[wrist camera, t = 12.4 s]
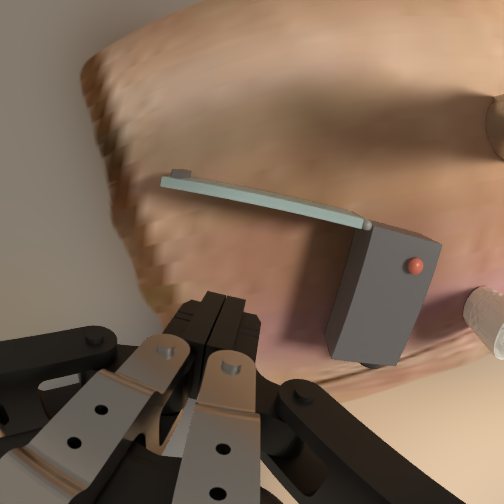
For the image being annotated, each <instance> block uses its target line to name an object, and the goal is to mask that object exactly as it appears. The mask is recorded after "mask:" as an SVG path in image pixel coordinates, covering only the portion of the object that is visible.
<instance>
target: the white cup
mask: <svg viewBox="0 0 504 504" xmlns="http://www.w3.org/2000/svg"><path fill="white" fill-rule="evenodd" d="M463 317H464V320H465V322H466V324H467V325H468V326H469V327H470V328H471V329H472V330H473V332H474V333H475V334H476V335H477V336H478V337H479V339H480V340H481V341H482V342H483V343H484V344H485V346H486V347H487V348H488V349H489V350H490V351H491V352H492V354H493V355H494V356H495V357H496V358H497V359H499V360H504V294H502V293H500V292H496V291H495V290H493V289H491V288H489V287H488V286H481V287H479V288H477V289H476V290H474V291H473V292H472V293H471V295H470V296H469V297H468V298H467V301H466V303H465V306H464V310H463Z"/></svg>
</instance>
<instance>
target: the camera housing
mask: <svg viewBox="0 0 504 504" xmlns="http://www.w3.org/2000/svg"><path fill="white" fill-rule="evenodd" d="M369 221H370V222H371V223H372V227H371V229H370V230H364V229H363V228H362V229H359V228H356V229H355V233H354V237H353V240H352V244H351V248H350V252H349V255H348V259H347V262H346V266H345V269H344V273H343V276H342V280H341V283H340V286H339V290H338V293H337V296H336V299H335V303H334V306H333V309H332V312H331V315H330V318H329V321H328V324H327V327H326V330H325V333H324V335H325V338H326V342H327V346H328V349H329V353H330V356H331V359H335V360H343V361H351V362H359V363H360V364H361V365H363V366H365V367H367V368H371V369H378V368H381V367H382V365H390V366H396V365H397V363H398V360H399V358H400V356H401V354H402V352H403V350H404V348H405V345H406V343H407V341H408V339H409V336H410V334H411V332H412V329H413V327H414V325H415V322H416V320H417V317H418V315H419V312H420V310H421V307H422V305H423V302H424V299H425V297H426V294H427V291H428V288H429V285H430V283H431V280H432V277H433V274H434V271H435V268H436V264H437V261H438V258H439V255H440V251H441V248H442V244H440V243H438V242H436V241H434V240H432V239H430V238H428V237H426V236H424V235H422V234H419V233H416V232H412V231H409V230H405V229H401V228H398V227H394V226H390V225H387V224H383V223H379V222H375V221H371V220H369Z"/></svg>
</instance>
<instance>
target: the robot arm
mask: <svg viewBox="0 0 504 504" xmlns="http://www.w3.org/2000/svg"><path fill="white" fill-rule="evenodd" d="M485 123H486V132H487V136H488V139H489V142H490V144H491V146H492V148H493V150H494V151H495V153H496V154H497V155H498V156H499V157H500V158H501V159H502V160H504V94H503V95H499V96H495V97H494V99H493V103H492V104H491V106H490V107H489V108H488V110H487V114H486V121H485ZM245 302H246V300H244V299H240V298H236V297H231V296H227V298H226V295H222V294H218V293H214V292H210V291H207V293H206V295H205V296H204V298H203V300H202V301H201V302H199V301H195V300H190V301H188V302H186V303H184V304H182V306H181V307H180V308H179V310H178V312H177V313H176V314H175V316H174V318H172V320H171V321H170V323H169V324H168V326H167V327H166V329H165V330H164V331H163V333H162V334H155V335H152V336H150V337H148V338H147V339H146V340H145V341H144V342H143V343H142V344H141V345H140V346H129V345H120V344H117V337H116V335H115V334H114V332H112V331H111V330H109V329H107V328H105V327H101V326H86V327H80V328H75V329H70V330H65V331H59V332H54V333H48V334H42V335H36V336H30V337H24V338H19V339H12V340H6V341H0V504H283V503H282V502H281V501H280V500H279V499H278V498H277V497H275V496H274V495H273V494H271V493H270V492H269V491H267V490H266V489H264V488H262V487H261V486H260V459H261V460H262V461H263V463H264V464H265V465H266V466H267V468H268V469H269V470H270V471H271V472H272V474H273V475H274V476H275V477H276V478H277V480H278V481H279V482H280V483H281V484H282V485H283V486H284V488H285V489H286V490H287V491H288V492H289V493H290V494H291V495H292V497H293V498H294V499H295V500H296V501H297V502H298V503H299V504H466V503H464V502H463V501H462V500H460V499H459V498H457V497H456V496H455V495H453V494H452V493H450V492H449V491H448V490H446V489H445V488H444V487H442V486H441V485H440V484H438V483H437V482H435V481H434V480H433V479H431V478H430V477H429V476H428V475H426V474H425V473H424V472H422V471H421V470H420V469H418V468H417V467H416V466H414V465H413V464H412V463H410V462H409V461H408V460H407V459H406V458H404V457H403V456H402V455H401V454H399V453H398V452H397V451H395V450H394V449H393V448H392V447H391V446H389V445H388V444H387V443H386V442H384V441H383V440H382V439H381V438H380V437H378V436H377V435H376V434H375V433H373V432H372V431H371V430H370V429H369V428H367V427H366V426H365V425H364V424H363V423H362V422H360V421H359V420H358V419H357V418H356V417H354V416H353V415H352V414H351V413H349V412H348V411H347V410H346V409H345V408H344V407H343V406H342V405H340V404H339V403H338V402H337V401H336V400H335V399H334V398H332V397H331V396H330V395H329V394H328V393H327V392H326V391H325V390H323V389H322V388H321V387H320V386H318V385H317V384H315V383H313V382H310V381H307V380H303V379H292V380H288V381H286V382H284V383H283V384H282V385H281V386H280V385H278V384H275V383H273V382H271V381H269V380H267V379H265V378H264V377H263V376H262V375H261V374H260V373H259V372H258V371H257V369H256V365H255V360H256V354H257V347H258V340H259V333H260V326H261V322H260V320H259V318H258V317H257V315H254V314H250V313H245V312H243V311H244V307H245ZM77 373H78V378H79V383H76V384H72V385H68V386H64V387H60V388H56V389H51V390H46V391H42V390H39V389H38V386H39V384H40V383H42V382H43V381H46V380H50V379H55V378H59V377H64V376H68V375H72V374H77ZM199 391H200V393H199ZM198 394H199V398H198V402H197V403H196V404H195V407H194V411H193V415H192V419H191V423H190V427H189V432H188V436H187V440H186V444H185V449H184V453H183V457H182V458H179V457H168V456H162V454H163V452H164V450H165V448H166V446H167V444H168V442H169V440H170V438H171V436H172V435H173V433H174V431H175V429H176V427H177V425H178V423H179V421H180V419H181V417H182V415H183V411H184V407H185V405H186V403H187V400H188V398H193V399H197V397H198Z"/></svg>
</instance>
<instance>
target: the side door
mask: <svg viewBox="0 0 504 504" xmlns="http://www.w3.org/2000/svg"><path fill="white" fill-rule="evenodd" d="M190 176H191V170H185V169H172V172H171V176H162V179H161V185H160V187H166V188H172V189H178V190H183V191H189V192H194V193H200V194H205V195H210V196H215V197H220V198H225V199H231V200H235V201H240V202H245V203H250V204H255V205H260V206H264V207H269V208H274V209H278V210H283V211H287V212H292V213H296V214H301V215H305V216H309V217H314V218H318V219H322V220H326V221H331V222H335V223H339V224H343V225H347V226H351V227H355V228H359V229H362V228H363V229H364V230H370V229H371V227H372V223H371V222H370V221H369V220H367V219H365V218H363V217H361V216H360V215H358V214H356V213H354V212H350V211H348V210H344V209H340V208H336V207H332V206H328V205H324V204H320V203H315V202H311V201H307V200H303V199H298V198H294V197H290V196H285V195H281V194H276V193H271V192H267V191H262V190H257V189H252V188H247V187H242V186H237V185H232V184H227V183H222V182H217V181H211V180H206V179H200V178H194V177H190Z"/></svg>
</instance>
